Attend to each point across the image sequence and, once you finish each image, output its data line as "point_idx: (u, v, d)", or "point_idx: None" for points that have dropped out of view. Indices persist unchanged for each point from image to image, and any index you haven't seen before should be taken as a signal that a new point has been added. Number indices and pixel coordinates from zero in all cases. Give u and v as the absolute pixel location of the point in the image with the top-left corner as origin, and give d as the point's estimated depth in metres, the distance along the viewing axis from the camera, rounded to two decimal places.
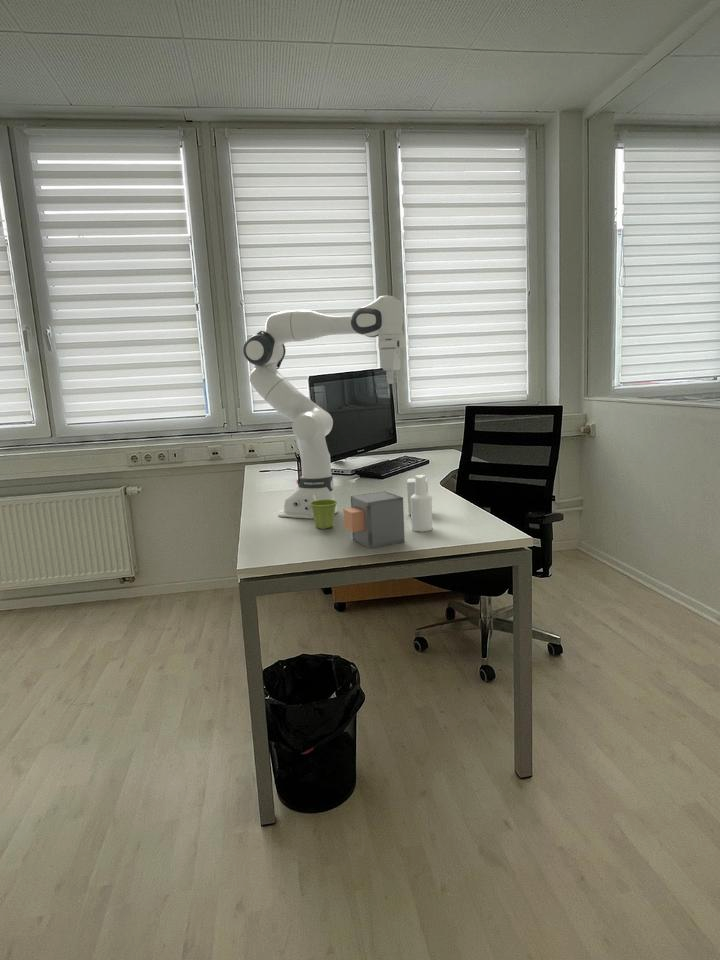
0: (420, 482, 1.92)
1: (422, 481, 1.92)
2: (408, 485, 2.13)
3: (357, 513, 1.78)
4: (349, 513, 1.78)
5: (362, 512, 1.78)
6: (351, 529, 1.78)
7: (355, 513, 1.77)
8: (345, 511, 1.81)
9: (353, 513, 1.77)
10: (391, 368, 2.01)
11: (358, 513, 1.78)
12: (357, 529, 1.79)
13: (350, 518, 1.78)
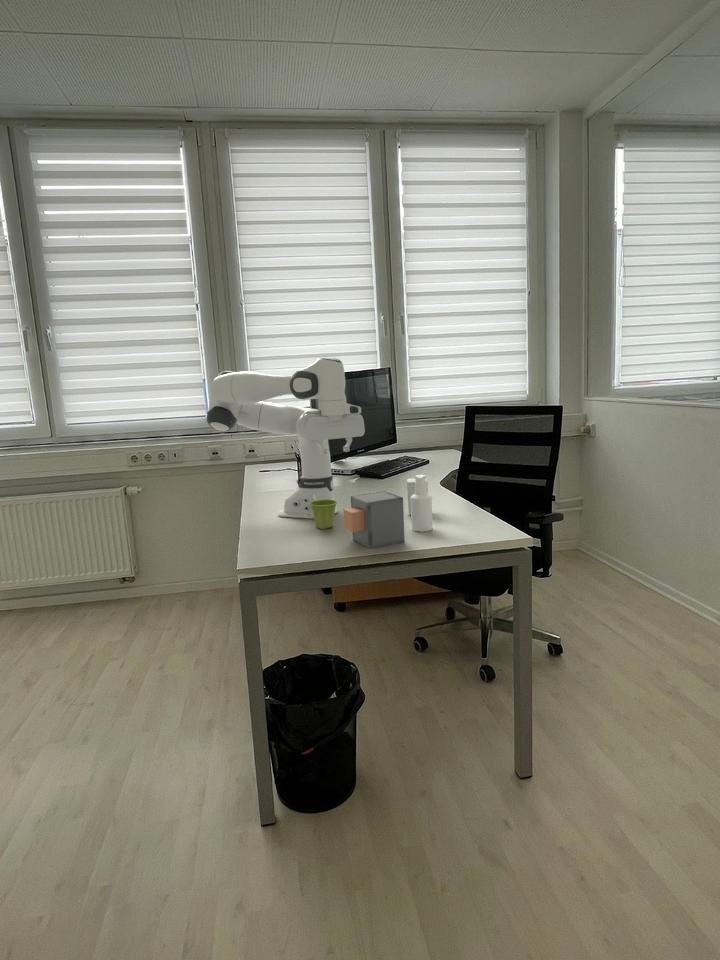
0: (420, 482, 1.92)
1: (422, 481, 1.92)
2: (408, 485, 2.13)
3: (357, 513, 1.78)
4: (349, 513, 1.78)
5: (362, 512, 1.78)
6: (351, 529, 1.78)
7: (355, 513, 1.77)
8: (345, 511, 1.81)
9: (353, 513, 1.77)
10: None
11: (358, 513, 1.78)
12: (357, 529, 1.79)
13: (350, 518, 1.78)
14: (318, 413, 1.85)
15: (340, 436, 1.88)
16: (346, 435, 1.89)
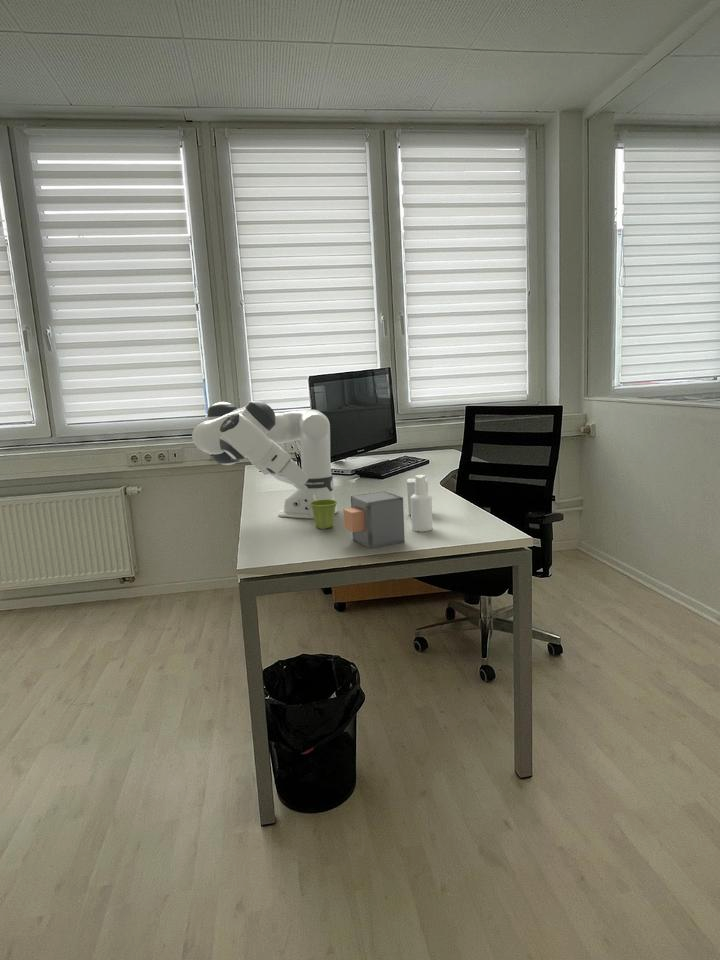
0: (420, 482, 1.92)
1: (422, 481, 1.92)
2: (408, 485, 2.13)
3: (357, 513, 1.78)
4: (349, 513, 1.78)
5: (362, 512, 1.78)
6: (351, 529, 1.78)
7: (355, 513, 1.77)
8: (345, 511, 1.81)
9: (353, 513, 1.77)
10: (307, 478, 1.63)
11: (358, 513, 1.78)
12: (357, 529, 1.79)
13: (350, 518, 1.78)
14: None
15: (289, 483, 1.69)
16: (291, 484, 1.67)
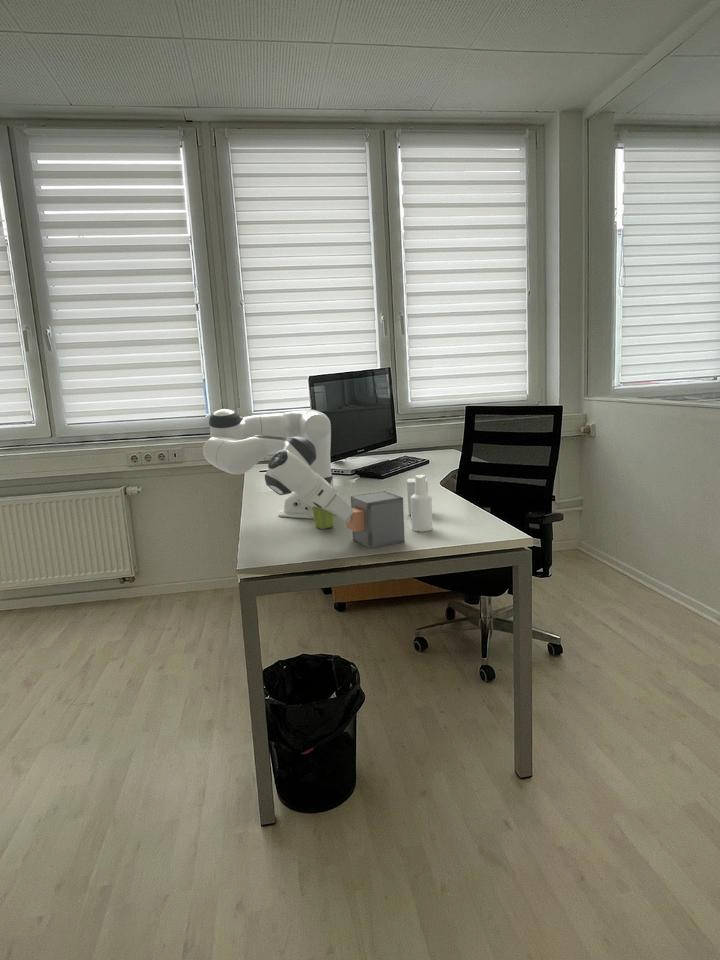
0: (420, 482, 1.92)
1: (422, 481, 1.92)
2: (408, 485, 2.13)
3: (359, 513, 1.78)
4: None
5: None
6: (353, 529, 1.79)
7: (357, 513, 1.78)
8: None
9: (355, 513, 1.78)
10: (352, 512, 1.69)
11: (360, 513, 1.78)
12: (359, 529, 1.79)
13: (352, 518, 1.78)
14: None
15: (334, 514, 1.76)
16: (336, 515, 1.74)
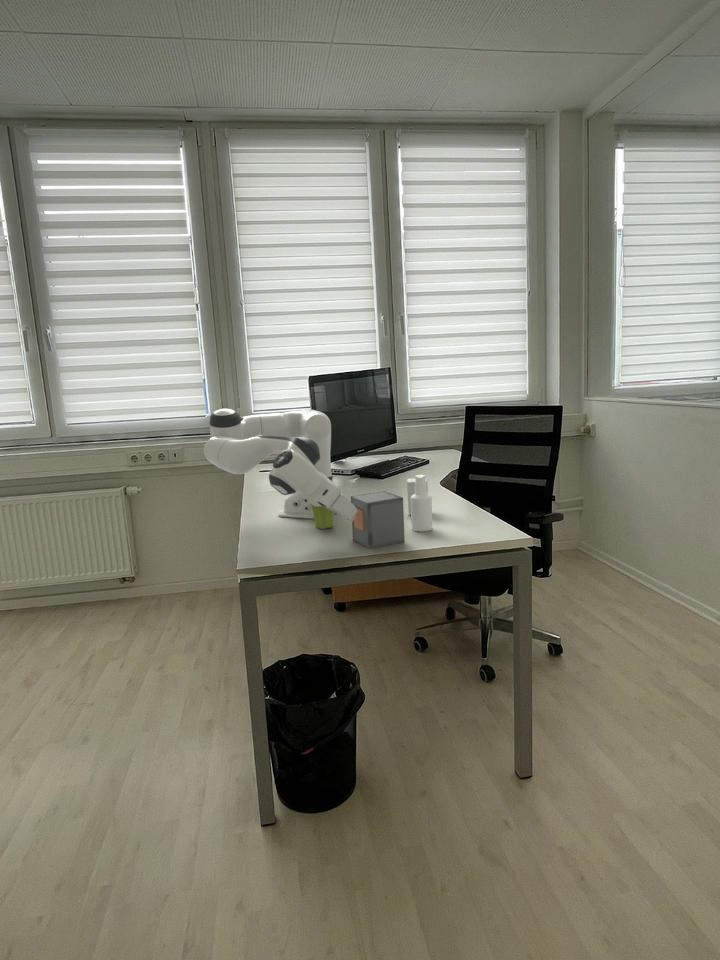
0: (420, 482, 1.92)
1: (422, 481, 1.92)
2: (408, 485, 2.13)
3: None
4: (359, 511, 1.80)
5: None
6: (361, 527, 1.80)
7: None
8: None
9: (363, 511, 1.79)
10: (356, 511, 1.70)
11: None
12: None
13: (360, 516, 1.79)
14: None
15: None
16: None
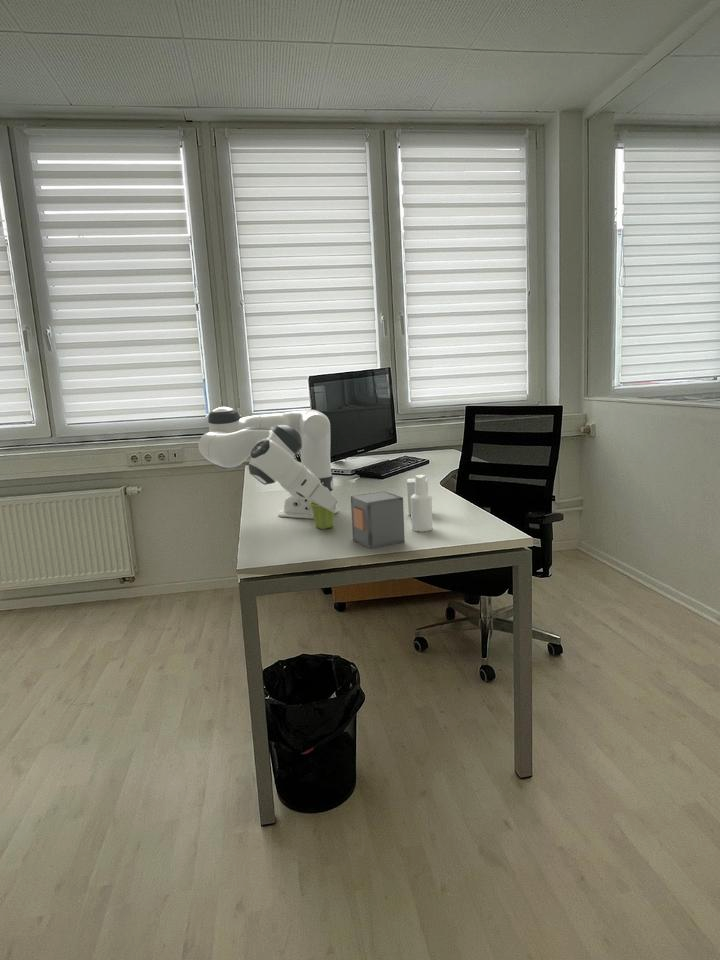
0: (420, 482, 1.92)
1: (422, 481, 1.92)
2: (408, 485, 2.13)
3: None
4: (359, 511, 1.80)
5: None
6: (361, 527, 1.80)
7: None
8: (355, 509, 1.82)
9: (363, 511, 1.79)
10: (336, 502, 1.66)
11: None
12: None
13: (360, 516, 1.79)
14: None
15: None
16: None
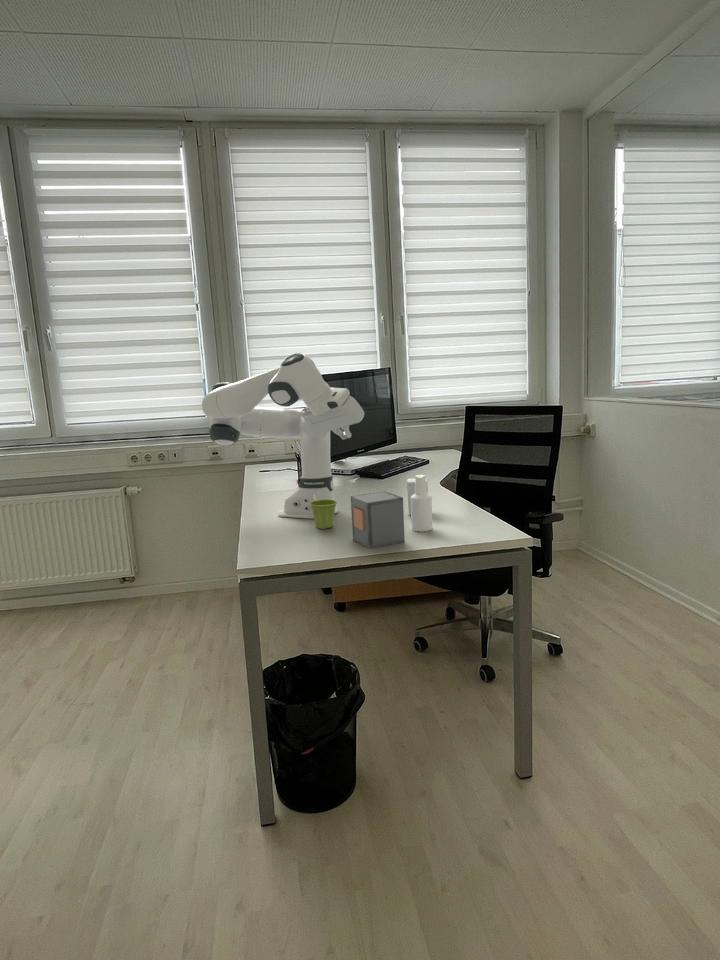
0: (420, 482, 1.92)
1: (422, 481, 1.92)
2: (408, 485, 2.13)
3: None
4: (359, 511, 1.80)
5: None
6: (361, 527, 1.80)
7: None
8: (355, 509, 1.82)
9: (363, 511, 1.79)
10: None
11: None
12: None
13: (360, 516, 1.79)
14: None
15: (338, 427, 1.77)
16: (343, 425, 1.76)
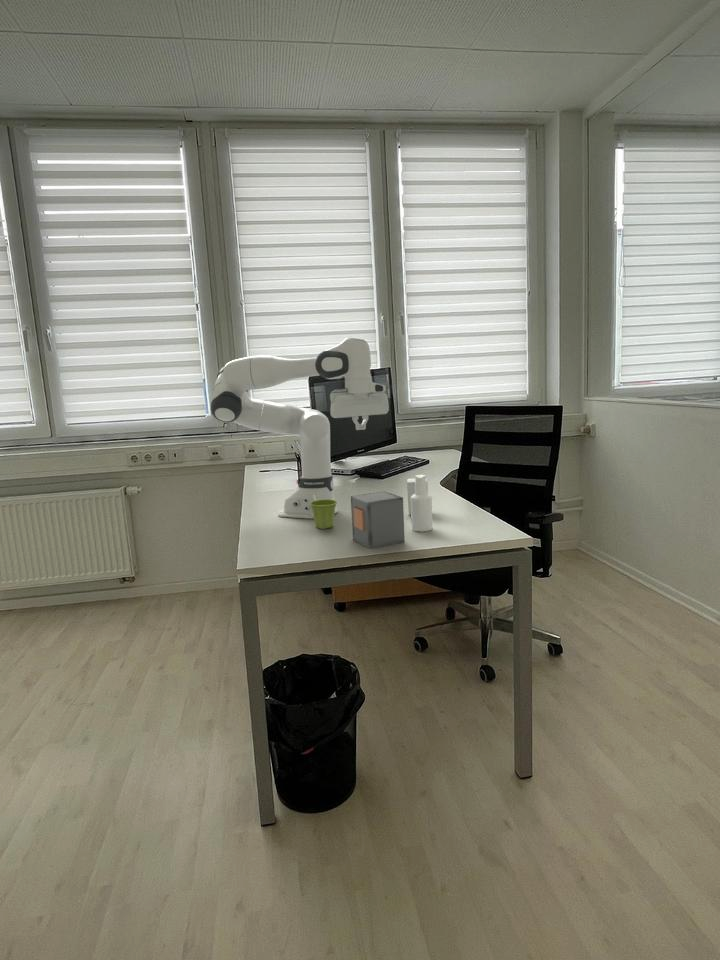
0: (420, 482, 1.92)
1: (422, 481, 1.92)
2: (408, 485, 2.13)
3: None
4: (359, 511, 1.80)
5: None
6: (361, 527, 1.80)
7: None
8: (355, 509, 1.82)
9: (363, 511, 1.79)
10: None
11: None
12: None
13: (360, 516, 1.79)
14: (345, 391, 1.94)
15: (366, 413, 1.97)
16: (371, 413, 1.98)
